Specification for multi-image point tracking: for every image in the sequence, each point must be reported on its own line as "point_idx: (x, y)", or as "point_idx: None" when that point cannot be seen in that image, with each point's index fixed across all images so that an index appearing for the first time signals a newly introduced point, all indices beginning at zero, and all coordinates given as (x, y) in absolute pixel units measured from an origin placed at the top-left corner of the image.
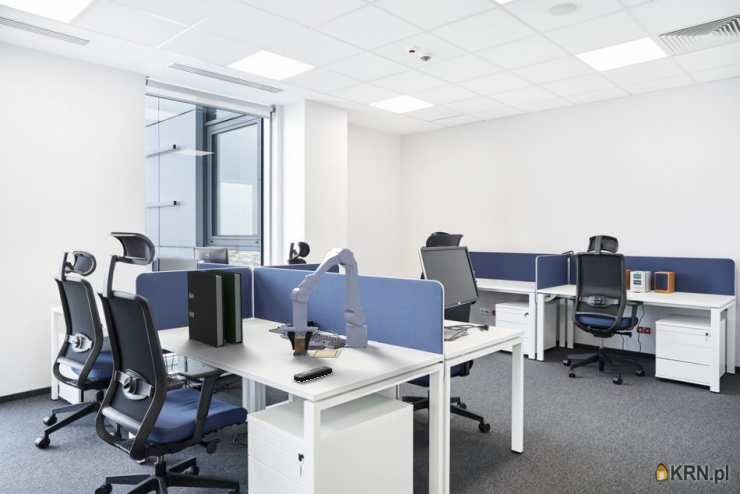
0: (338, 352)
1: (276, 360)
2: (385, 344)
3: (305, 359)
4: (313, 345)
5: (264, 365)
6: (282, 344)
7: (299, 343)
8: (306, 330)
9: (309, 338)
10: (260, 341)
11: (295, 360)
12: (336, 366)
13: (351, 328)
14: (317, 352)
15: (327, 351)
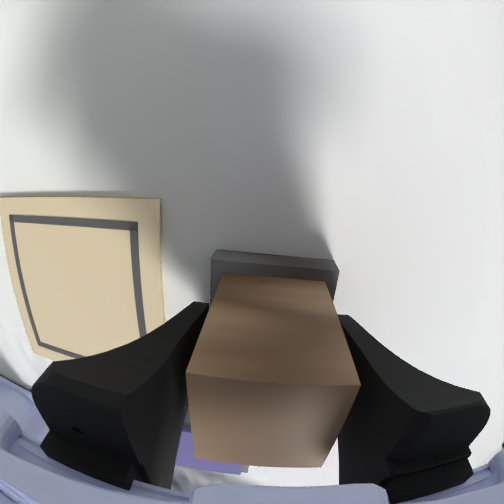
0: (21, 304)
1: (456, 120)
2: None
3: (197, 120)
4: (187, 434)
5: (488, 20)
6: None
7: (273, 334)
8: (77, 482)
9: (95, 354)
10: None
11: (293, 88)
12: (14, 10)
13: None
14: (133, 329)
15: (79, 340)
